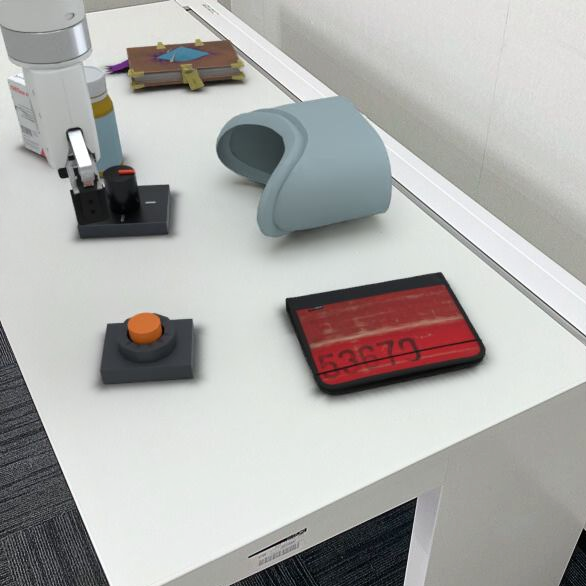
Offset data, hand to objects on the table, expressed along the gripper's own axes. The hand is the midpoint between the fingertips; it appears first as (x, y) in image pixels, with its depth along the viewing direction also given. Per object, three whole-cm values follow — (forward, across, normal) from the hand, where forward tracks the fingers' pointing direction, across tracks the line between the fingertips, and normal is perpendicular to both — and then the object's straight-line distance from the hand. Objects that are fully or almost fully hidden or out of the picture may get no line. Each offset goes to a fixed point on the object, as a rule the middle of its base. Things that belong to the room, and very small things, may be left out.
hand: (83, 197), depth 85 cm
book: (+18, -66, +27) cm, 73 cm away
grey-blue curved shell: (+18, -16, +31) cm, 40 cm away
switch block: (+18, +8, +3) cm, 20 cm away
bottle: (+18, -37, +7) cm, 42 cm away
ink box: (+18, -46, +1) cm, 49 cm away
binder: (+18, +15, +30) cm, 38 cm away
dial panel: (+18, -22, +7) cm, 30 cm away
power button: (+14, +7, +3) cm, 16 cm away
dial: (+16, -23, +7) cm, 29 cm away
